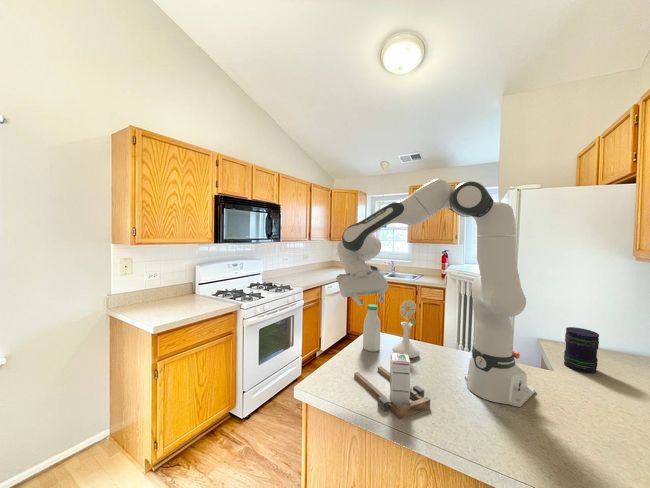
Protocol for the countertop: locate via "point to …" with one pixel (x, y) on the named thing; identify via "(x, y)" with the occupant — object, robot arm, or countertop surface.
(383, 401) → the beam slot
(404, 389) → the syrup box
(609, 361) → the countertop surface
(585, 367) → the storage jar
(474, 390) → the robot arm
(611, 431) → the countertop surface
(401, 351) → the flower in vase
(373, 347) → the milk bottle
